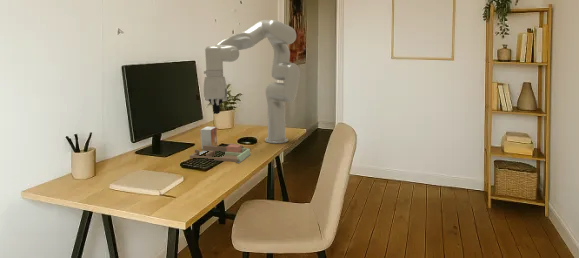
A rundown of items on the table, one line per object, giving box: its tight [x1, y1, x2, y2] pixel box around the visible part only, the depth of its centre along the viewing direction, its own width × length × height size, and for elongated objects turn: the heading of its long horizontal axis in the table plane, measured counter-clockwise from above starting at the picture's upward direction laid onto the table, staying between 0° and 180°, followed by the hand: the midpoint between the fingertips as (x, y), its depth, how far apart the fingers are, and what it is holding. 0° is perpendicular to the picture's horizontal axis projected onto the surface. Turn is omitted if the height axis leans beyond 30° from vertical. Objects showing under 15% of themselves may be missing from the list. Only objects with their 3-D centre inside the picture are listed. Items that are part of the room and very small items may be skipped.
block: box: [225, 143, 243, 153], centre depth 199 cm, size 6×6×5 cm
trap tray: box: [188, 145, 251, 164], centre depth 199 cm, size 15×24×3 cm, turn 76°
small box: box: [200, 126, 218, 150], centre depth 214 cm, size 8×6×10 cm
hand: (216, 113), depth 199 cm, fingers closed
